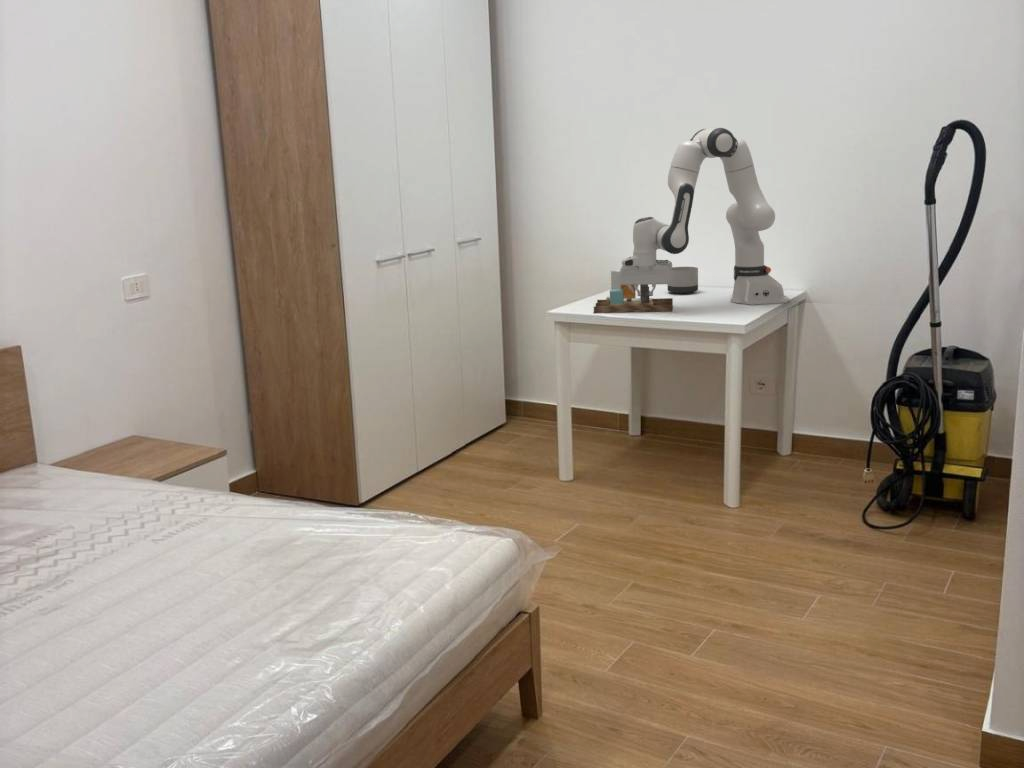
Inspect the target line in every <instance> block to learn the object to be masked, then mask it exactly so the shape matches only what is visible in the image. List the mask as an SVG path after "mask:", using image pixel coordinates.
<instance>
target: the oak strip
mask: <svg viewBox="0 0 1024 768" xmlns="http://www.w3.org/2000/svg"><path fill="white" fill-rule="evenodd" d="M649 291H650V286H648V287H641V301H634V302H624V303H623V304H610V296H607V297H606V298H605V300H606V306H646V305H653V301H649V298H650V296H649Z"/></svg>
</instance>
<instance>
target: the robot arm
mask: <svg viewBox="0 0 1024 768" xmlns="http://www.w3.org/2000/svg"><path fill="white" fill-rule="evenodd" d="M707 158H709V159H715V158H720V160H721V163H722V164H723V169H724V174H725V178H726V183H727V187H728V191H729V193H730V194H731V195H732V197H734V200H735V202H734V203H732V204H731V205H729V207H728V208H727V209H726V212H725V218H726V221H727V223H728V224H729V226H730V229H731V232H732V237H733V242H734V261H735V262H734V266H733V280H734V282H733V290H732V296H731V299H730V301H731V302H732V303H737V304H744V305H753V306H754V305H768V304H769V305H770V304H786V303H789V302H790V298H789V296H788V295H785V294H784V288H783V285H782V284H781V283H780V282H779V281H778V280H776V278H774V277H772V276H771V275H770V273H771V271H772V268H771V267H768V266H767V265H765V245H764V242H763V241H762V239H761V237H760V232H762V231H765V230H768V229H771V227H772V226H773V225H774V223H775V220H776V212H775V210H774V209H773V208H772V206H770V203H768V201H767V200H766V197H765V196H764V194H763V191H762V189H761V187H760V185H759V181H758V178H757V174H756V169H755V164H754V161H753V157H752V153H751V152H750V149H749V146H748V144H747V142H746V141H745V140H744V139H742V138H736V137H735V136H734V134H733V133H732V132H731V131H730V130H729V129H726V128H724V127H709V128H702V129H700V130H698V131H697V132H696V133H695V134H693V136H692V138H691V139H689V140H683V141H682V142H680V143H679V144H678V145H677V148H676V150H675V153H674V155H673V157H672V161H671V163H670V166H669V170H668V175H667V176H668V177H667V185H668V189H669V190H670V191H671V193H672V194H673V196H674V207H673V211H672V218H671V222H670V224H668V223H667V224H666V223H664V222H661V221H659V220H657V219H656V218H655V217H653V216H647V217H641V218H638V219H637V220H636V221H635V222H634V225H633V227H632V228H633V230H632V243H633V252H632V256H628V257H626V258H623V259H622V260H621V267H620V269H619V270H620V273H619V284H620V285H635V289H636V293H637V297H640V296H641V291H640V289H639V286H640V285H648V286H649V285H651V288H652V289H651V290H649V297H653V296H654V291H655V289H656V288H657V285H667V284H670V283H671V270H672V267H673V263H672V261H670V260H669V259H657V250H662V251H665V252H667V253H669V254H671V255H678V254H681V253H683V252H684V251H685V250H686V248H687V247H688V245H689V242H690V241H689V240H690V237H689V222H690V218H691V213H692V209H693V202H694V197H695V196H694V195H695V189H696V185H697V182H698V178H699V174H700V171H701V165H702V164H703V162H704V161H705V159H707Z"/></svg>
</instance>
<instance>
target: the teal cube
mask: <svg viewBox="0 0 1024 768" xmlns="http://www.w3.org/2000/svg"><path fill="white" fill-rule="evenodd" d="M609 297H610V304H623V303H624V291H623V289H612V290H611V289H610V290H609Z"/></svg>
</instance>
